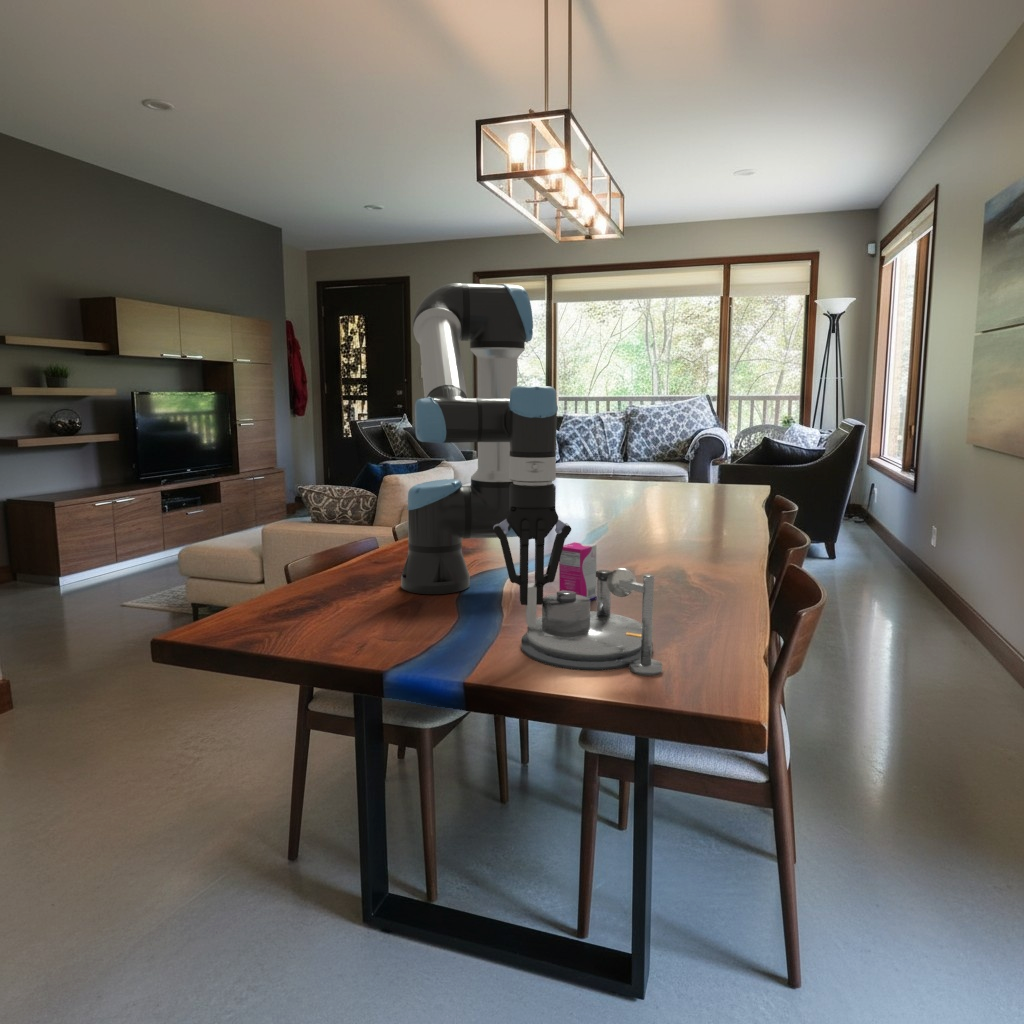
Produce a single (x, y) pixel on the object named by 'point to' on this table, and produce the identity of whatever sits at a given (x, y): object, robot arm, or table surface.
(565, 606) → the cover
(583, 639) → the turntable
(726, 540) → the table surface
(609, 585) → the metal lever handle
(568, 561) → the supplement box
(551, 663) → the base
